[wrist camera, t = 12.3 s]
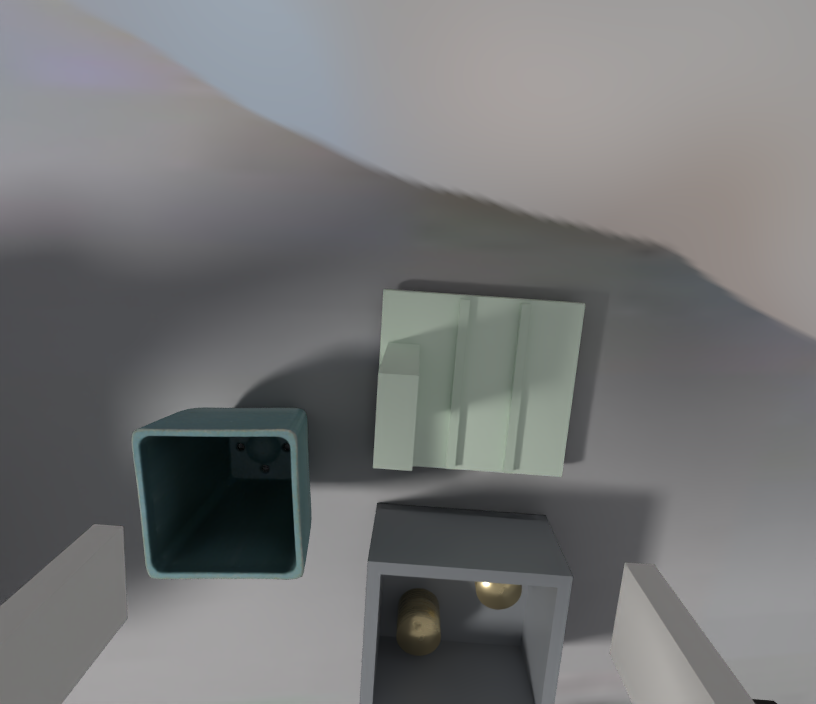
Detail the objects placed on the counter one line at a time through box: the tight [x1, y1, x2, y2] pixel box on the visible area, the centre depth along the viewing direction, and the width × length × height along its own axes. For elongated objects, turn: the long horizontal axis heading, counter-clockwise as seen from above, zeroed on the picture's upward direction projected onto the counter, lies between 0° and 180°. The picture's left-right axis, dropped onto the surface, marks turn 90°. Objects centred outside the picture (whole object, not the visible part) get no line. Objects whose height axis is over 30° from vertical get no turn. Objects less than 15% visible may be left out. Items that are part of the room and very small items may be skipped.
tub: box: [360, 503, 573, 704], centre depth 35 cm, size 12×11×7 cm
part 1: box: [396, 588, 441, 656], centre depth 37 cm, size 3×3×3 cm
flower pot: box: [131, 408, 311, 580], centre depth 33 cm, size 9×9×9 cm
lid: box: [373, 289, 585, 477], centre depth 31 cm, size 13×12×10 cm
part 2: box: [475, 582, 522, 610], centre depth 36 cm, size 3×3×3 cm
